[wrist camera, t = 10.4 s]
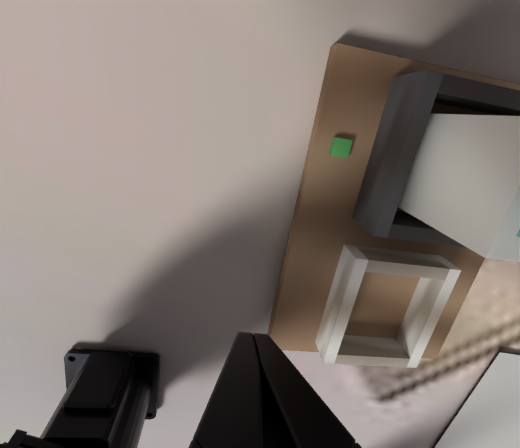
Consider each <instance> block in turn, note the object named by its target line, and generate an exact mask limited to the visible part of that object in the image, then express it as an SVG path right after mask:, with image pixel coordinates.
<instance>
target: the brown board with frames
mask: <svg viewBox="0 0 520 448" xmlns="http://www.w3.org/2000/svg"><path fill="white" fill-rule="evenodd" d="M430 114H462V115H497V116H520V84H516V83H512V82H507V81H503V80H498V79H494V78H490V77H485V76H481V75H476V74H472V73H468V72H463V71H459V70H455V69H450V68H446V67H441V66H437V65H433V64H428V63H424V62H419V61H415V60H411V59H406V58H402V57H397V56H393V55H389V54H384V53H380V52H376V51H371V50H367V49H362V48H358V47H354V46H349V45H345V44H340V43H336V44H334V45H333V46H331V48H330V53H329V57H328V62H327V67H326V71H325V76H324V80H323V85H322V89H321V94H320V98H319V103H318V107H317V112H316V116H315V121H314V125H313V130H312V134H311V139H310V143H309V148H308V153H307V157H306V162H305V166H304V171H303V175H302V180H301V184H300V189H299V193H298V198H297V202H296V207H295V211H294V216H293V220H292V225H291V229H290V234H289V239H288V243H287V248H286V252H285V257H284V261H283V266H282V270H281V275H280V279H279V284H278V288H277V293H276V297H275V302H274V306H273V311H272V315H271V320H270V324H269V329H268V334H267V335H269V336H270V337H271V338H272V340H273V341H274V342H275V343H276V344H277V346H278V347H279V348H280V349H281V350H292V351H309V352H319V353H320V356H321V359H322V362H323V363H330V364H349V365H369V366H388V367H408V368H417V366H418V363H419V361H420V359H421V358H432V359H436V358H437V356H438V354H439V351H440V349H441V347H442V345H443V343H444V341H445V339H446V337H447V335H448V333H449V331H450V329H451V327H452V325H453V323H454V321H455V318H456V316H457V314H458V312H459V310H460V308H461V306H462V304H463V302H464V300H465V298H466V296H467V294H468V292H469V290H470V287H471V285H472V283H473V281H474V279H475V277H476V275H477V273H478V271H479V269H480V267H481V265H482V263H483V261H484V259H485V258H484V257H482V256H481V255H479V254H477V253H476V252H474V251H472V250H470V249H469V248H467V247H465V246H464V245H462V244H460V243H458V242H457V241H455V240H453V239H452V238H450V237H448V236H447V235H445V234H443V233H441V232H440V231H438V230H436V229H435V228H433V227H431V226H429V225H428V224H426V223H424V222H423V221H421V220H419V219H417V218H416V217H414V216H412V215H411V214H409V213H407V212H405V211H404V210H402V209H400V208H399V207H398V205H399V202H400V199H401V196H402V193H403V191H404V188H405V185H406V182H407V179H408V176H409V173H410V170H411V167H412V165H413V162H414V159H415V156H416V153H417V150H418V147H419V144H420V142H421V139H422V136H423V133H424V130H425V127H426V124H427V121H428V118H429V116H430Z"/></svg>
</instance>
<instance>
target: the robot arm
mask: <svg viewBox="0 0 520 448" xmlns="http://www.w3.org/2000/svg"><path fill="white" fill-rule="evenodd" d="M72 356H74V357H72ZM152 360H155V361H152ZM64 362H65V375H66V388H67V391H66V393H65V394H64V396H63V398H62V400H61V401H60V403H59V405H58V407H57V408H56V410H55V412H54V414H53V415H52V417H51V419H50V421H49V422H48V424H47V426H46V428H45V430H44V431H43V433H42V435H41V437H40V438H38V437H34V436H31V435H28V434H26V433H27V432H25V431H22V430H18V429H17V430H16V432H15V433H14V435H13V436H12V438H11V439H10V441H9V442H8V443H6V442H4V443H3V444H0V448H137V446H138V443H139V439H140V435H141V431H142V428H143V424H144V420H145V419H153V418H155V416H156V413H157V403H158V389H159V374H160V356H159V355H158V354H156V353H141V352H122V351H102V350H83V349H71V350H69V351H68V352H67V354H66V355H65V357H64ZM189 448H362V447H361V446H360V445H359V444H358V443H355V439H354V438H353V437H352V435H351V434H350V433H349V432H348V430H347V429H346V428H345V427H344V426H343V424H342V423H341V422H340V421H339V420H338V418H337V417H336V416H335V415H334V414H333V412H332V411H331V410H330V409H329V407H328V406H327V405H326V404H325V403H324V401H323V400H322V399H321V398H320V397H319V395H318V394H317V393H316V392H315V391H314V389H313V388H312V387H311V386H310V384H309V383H308V382H307V381H306V380H305V378H304V377H303V376H302V375H301V374H300V372H299V371H298V370H297V369H296V367H295V366H294V365H293V364H292V363H291V361H290V360H289V359H288V358H287V357H286V355H285V354H284V353H283V352H282V351H281V349H280V348H279V347H278V346H277V344H276V343H275V342H274V341H273V340H272V338H271V337H270V336H269V335H267V334H258V333H255V334H252V333H246V332H238V333H237V335H236V338H235V340H234V342H233V345H232V347H231V350H230V352H229V354H228V357H227V359H226V361H225V364H224V366H223V368H222V371H221V373H220V376H219V378H218V380H217V383H216V385H215V387H214V390H213V392H212V394H211V397H210V399H209V402H208V404H207V406H206V409H205V411H204V413H203V416H202V418H201V420H200V423H199V425H198V427H197V430H196V432H195V435H194V437H193V440H192V441H191V443H190V446H189Z"/></svg>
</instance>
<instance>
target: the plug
mask: <svg viewBox="0 0 520 448" xmlns="http://www.w3.org/2000/svg"><path fill="white" fill-rule="evenodd" d="M398 207H399V208H400V209H402V210H404V211H405V212H407V213H409V214H411V215H412V216H414V217H416V218H417V219H419V220H421V221H423V222H424V223H426V224H428V225H429V226H431V227H433V228H435V229H436V230H438V231H440V232H441V233H443V234H445V235H447V236H448V237H450V238H452V239H453V240H455V241H457V242H458V243H460V244H462V245H464V246H465V247H467V248H469V249H470V250H472V251H474V252H476V253H477V254H479V255H481V256H482V257H484V258H488V259H497V260H506V261H515V262H520V116H497V115H462V114H430V116H429V118H428V121H427V124H426V127H425V130H424V133H423V136H422V139H421V142H420V144H419V147H418V150H417V153H416V156H415V159H414V162H413V165H412V167H411V170H410V173H409V176H408V179H407V182H406V185H405V188H404V191H403V193H402V196H401V199H400V202H399V205H398Z"/></svg>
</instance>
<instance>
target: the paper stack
mask: <svg viewBox="0 0 520 448" xmlns="http://www.w3.org/2000/svg"><path fill="white" fill-rule="evenodd" d="M434 448H520V355H515V354H509V353H503V352H500V353H499V354H498V356H497V357H496V358H495V360H494V361H493V363H492V364H491V366H490V367H489V369H488V370H487V372H486V373H485V375H484V376H483V377H482V379H481V380H480V382H479V383H478V385H477V386H476V388H475V389H474V391H473V392H472V393H471V395H470V396H469V398H468V399H467V401H466V402H465V404H464V405H463V407H462V408H461V410H460V411H459V412H458V414H457V415H456V417H455V418H454V420H453V421H452V423H451V424H450V426H449V427H448V429H447V430H446V431H445V433H444V434H443V436H442V437H441V439H440V440H439V442H438V443H437V445H436V446H435V447H434Z"/></svg>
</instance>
